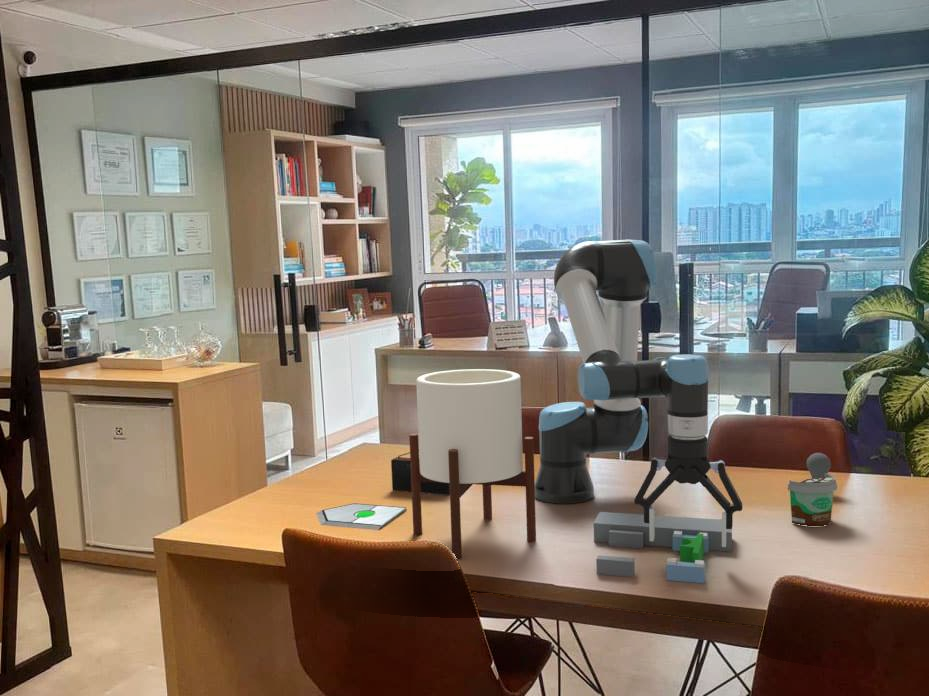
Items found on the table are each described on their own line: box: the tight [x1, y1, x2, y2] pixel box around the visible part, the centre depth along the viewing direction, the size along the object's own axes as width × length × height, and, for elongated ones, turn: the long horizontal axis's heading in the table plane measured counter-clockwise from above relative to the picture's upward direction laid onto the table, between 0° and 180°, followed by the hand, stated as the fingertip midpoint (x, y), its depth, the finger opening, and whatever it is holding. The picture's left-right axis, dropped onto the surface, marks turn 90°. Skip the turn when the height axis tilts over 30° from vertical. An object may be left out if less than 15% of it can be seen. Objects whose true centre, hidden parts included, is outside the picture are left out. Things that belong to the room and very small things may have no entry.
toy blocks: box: [593, 511, 733, 584], centre depth 170 cm, size 28×26×4 cm
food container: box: [787, 473, 838, 527], centre depth 185 cm, size 12×6×10 cm, turn 117°
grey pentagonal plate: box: [316, 502, 407, 531], centre depth 203 cm, size 17×22×2 cm
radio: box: [390, 451, 450, 496], centre depth 220 cm, size 19×3×15 cm, turn 68°
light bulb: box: [806, 452, 832, 479], centre depth 208 cm, size 6×6×10 cm
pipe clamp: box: [679, 533, 704, 563], centre depth 165 cm, size 11×4×5 cm, turn 160°
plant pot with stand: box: [408, 368, 537, 561], centre depth 183 cm, size 22×22×36 cm
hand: (687, 541), depth 164 cm, fingers open, 13 cm apart
